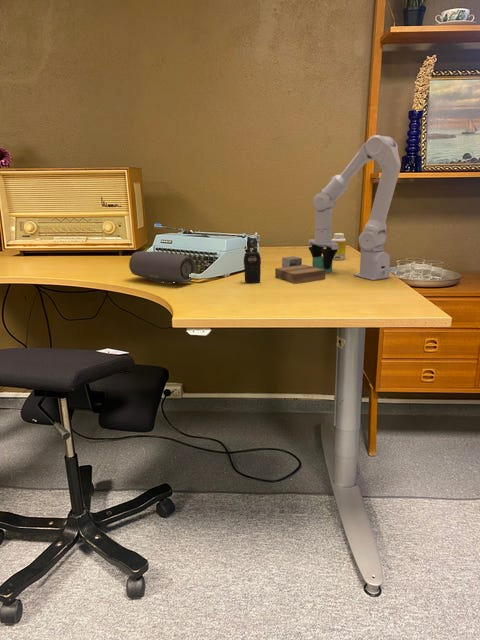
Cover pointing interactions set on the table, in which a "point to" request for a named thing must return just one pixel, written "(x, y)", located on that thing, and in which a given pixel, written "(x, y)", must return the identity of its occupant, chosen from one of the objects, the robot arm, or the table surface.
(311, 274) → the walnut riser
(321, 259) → the teal cube
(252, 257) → the two-way radio
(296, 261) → the steel cube
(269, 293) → the table surface
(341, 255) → the supplement bottle
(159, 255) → the bluetooth speaker
